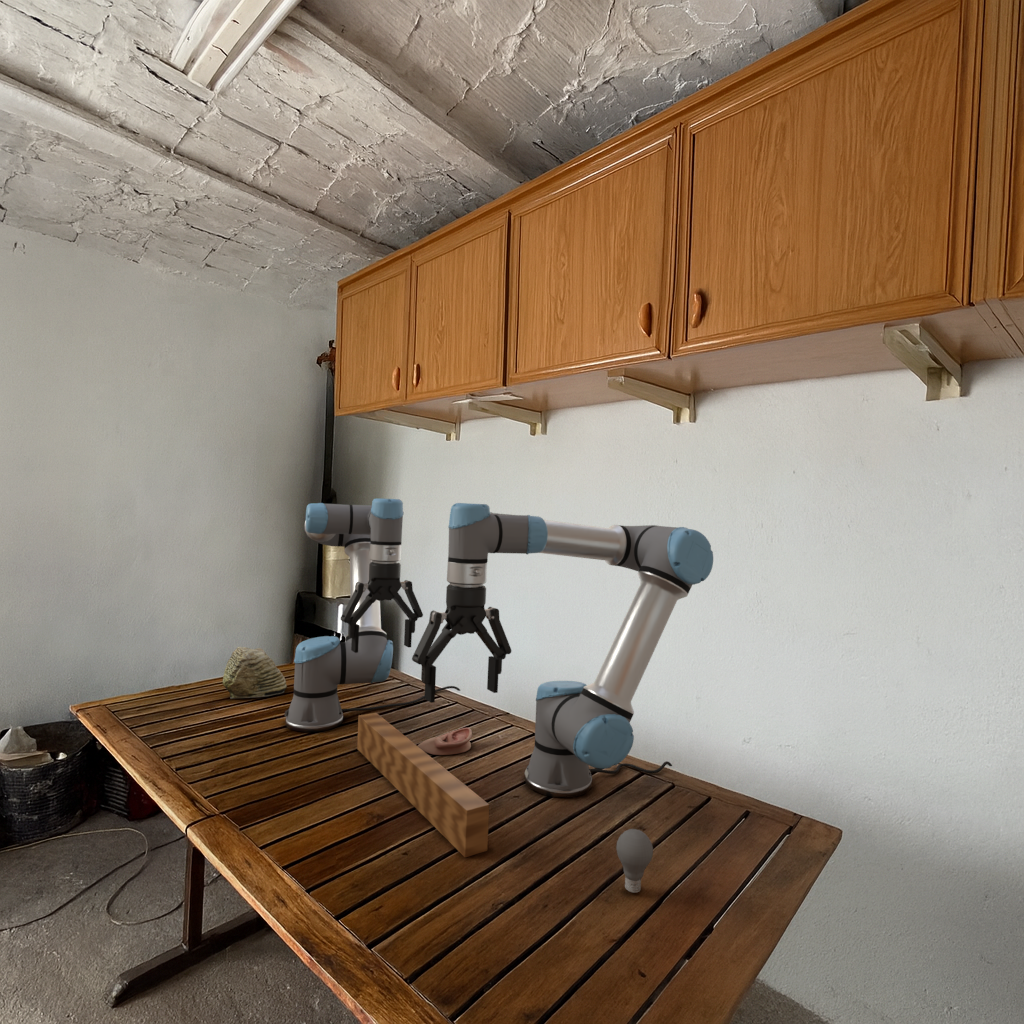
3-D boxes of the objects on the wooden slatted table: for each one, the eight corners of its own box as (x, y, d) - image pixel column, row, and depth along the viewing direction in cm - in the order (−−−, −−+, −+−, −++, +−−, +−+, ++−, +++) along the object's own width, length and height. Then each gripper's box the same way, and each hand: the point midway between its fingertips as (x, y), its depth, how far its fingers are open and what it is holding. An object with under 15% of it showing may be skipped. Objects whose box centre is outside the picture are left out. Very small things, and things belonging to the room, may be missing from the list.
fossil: (218, 695, 195) (220, 647, 195) (278, 685, 208) (279, 640, 207) (228, 703, 189) (230, 653, 188) (289, 692, 201) (290, 645, 201)
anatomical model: (412, 736, 159) (428, 721, 170) (412, 752, 159) (427, 735, 170) (464, 742, 156) (476, 726, 167) (463, 758, 156) (475, 741, 167)
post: (357, 749, 160) (358, 715, 159) (374, 745, 162) (376, 712, 162) (464, 857, 113) (466, 810, 113) (487, 850, 116) (489, 804, 116)
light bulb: (610, 879, 108) (613, 822, 108) (644, 879, 109) (647, 822, 109) (619, 902, 102) (622, 840, 102) (655, 901, 103) (658, 840, 103)
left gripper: (339, 564, 144) (336, 657, 144) (438, 562, 158) (434, 647, 158) (329, 561, 150) (326, 650, 151) (425, 559, 164) (421, 641, 164)
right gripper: (414, 589, 110) (409, 711, 110) (531, 584, 124) (526, 692, 124) (397, 584, 116) (392, 698, 117) (510, 579, 130) (506, 682, 130)
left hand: (381, 648), depth 154 cm, fingers open, 13 cm apart
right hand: (461, 695), depth 120 cm, fingers open, 13 cm apart
